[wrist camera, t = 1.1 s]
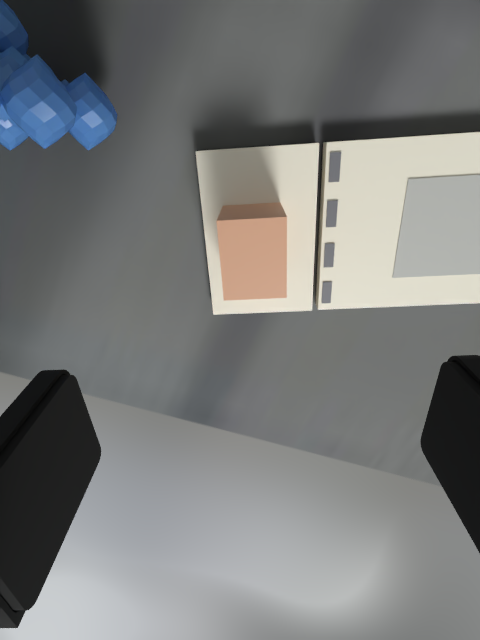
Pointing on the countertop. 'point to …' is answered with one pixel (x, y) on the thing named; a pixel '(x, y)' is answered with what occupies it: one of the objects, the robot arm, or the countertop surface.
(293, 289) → the stub
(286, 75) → the countertop surface
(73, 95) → the grapes
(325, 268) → the cream panel with window
